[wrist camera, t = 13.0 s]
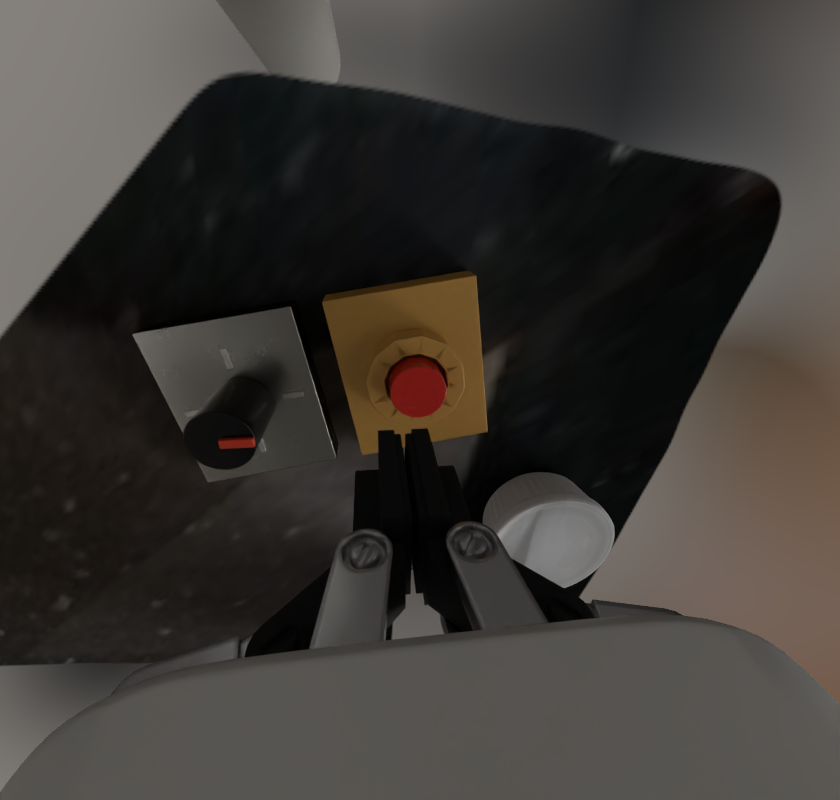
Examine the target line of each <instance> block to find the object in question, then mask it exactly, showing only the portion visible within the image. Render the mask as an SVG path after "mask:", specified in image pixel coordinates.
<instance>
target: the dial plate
mask: <svg viewBox="0 0 840 800" xmlns="http://www.w3.org/2000/svg"><path fill="white" fill-rule="evenodd" d="M132 335H133V337H134V339H135V341H136V343H137V345H138V347H139V349H140V351H141V353H142V355H143V357H144V359H145V361H146V362H147V364H148V366H149V368H150V370H151V372H152V374H153V376H154V378H155V380H156V382H157V384H158V386H159V388H160V390H161V392H162V394H163V396H164V398H165V400H166V402H167V404H168V405H169V407H170V409H171V411H172V413H173V415H174V417H175V419H176V421H177V423H178V425H179V427H180V429H181V431H182V433H183V432H184V429H185V426H186V425H187V423H188V422H189V421H190V420H191V418H192V417H193V416H194V415H195V414H196V413H197V411H198V410H199V409H200V408H201V407H202V406H203V404H204V403H205V402H206V401H207V400H208V399H209V397H210V396H211V395H212V394H213V393H214V392H215V390H216V389H217V388H218V387H219V386H220V385H221V384H222V383H223V382H225V381H227V380H230V379H233V378H248V379H252V380H254V381H257V382H259V383H260V384H262V385H263V386H264V387H265V388H266V389H267V390H268V391H269V392H270V393H271V395H272V397H273V400H274V405H275V409H274V413H273V416H272V418H271V420H270V422H269V424H268V426H267V429H266V431H265V433H264V435H263V437H262V439H261V441H260V443H259V445H258V447H257V450H256V452H255V454H254V456H253V457H252V458H251V460H250V461H249V462H247V463H246V464H245V465H243V466H241V467H238V468H235V469H229V470H221V469H214V468H211V467H208V466H205V465H203V464H201V463H200V462H198V461H197V462H198V464H199V466H200V468H201V470H202V472H203V474H204V476H205V478H206V480H207V482H208V483H209V482H215V481H220V480H225V479H231V478H236V477H241V476H247V475H252V474H257V473H263V472H268V471H273V470H279V469H284V468H289V467H295V466H300V465H305V464H311V463H316V462H321V461H327V460H332V459H336V458H337V451H338V442H337V438H336V435H335V431H334V428H333V425H332V421H331V418H330V414H329V411H328V408H327V404H326V401H325V397H324V394H323V390H322V387H321V384H320V380H319V377H318V373H317V370H316V367H315V363H314V360H313V356H312V353H311V350H310V346H309V343H308V339H307V336H306V333H305V329H304V326H303V322H302V319H301V315H300V312H299V309H298V305H297V302H296V300H293V301H287V302H281V303H275V304H269V305H264V306H258V307H252V308H246V309H240V310H234V311H229V312H223V313H217V314H211V315H205V316H199V317H194V318H188V319H182V320H176V321H170V322H164V323H158V324H153V325H148V326H146V327H144V328H142V329H140V330H138V331H136V332H134V333H133V334H132Z"/></svg>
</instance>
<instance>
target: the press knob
mask: <svg viewBox="0 0 840 800" xmlns="http://www.w3.org/2000/svg"><path fill="white" fill-rule="evenodd" d="M389 386H390V395H391V400H392V403H393V405H394V406H395V408H396V409H397V410H398V411H399V412H401V413H402V414H404V415H407V416H410V417H424V416H428V415H430V414H432V413H434V412H435V411H437V410H438V409H439V408H440V407H441V405H442V404H443V402H444V400H445V397H446V392H447V389H446V384H445V381H444V378H443V376H442V374H441V372H440V370H439V368H438V367H437V365H436V364H435V363H433V362H432V361H430V360H428V359H426V358H421V357H413V358H408V359H406V360H404V361H402V362H400V363H399V364H398V365H397V366H396V367H395V368H394V369H393V371H392V373H391V375H390V380H389Z"/></svg>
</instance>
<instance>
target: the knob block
mask: <svg viewBox="0 0 840 800" xmlns="http://www.w3.org/2000/svg"><path fill="white" fill-rule="evenodd" d="M322 304H323V308H324V312H325V316H326V320H327V323H328V327H329V331H330V335H331V339H332V342H333V346H334V350H335V354H336V358H337V361H338V365H339V369H340V373H341V377H342V380H343V384H344V388H345V392H346V396H347V400H348V403H349V407H350V411H351V415H352V419H353V422H354V426H355V430H356V434H357V438H358V441H359V445H360V449H361V453H362V455H366V454H371V453H377V452H378V430H394V434H401V440H402V447H405V434H408V433H411V429H425V428H427V429H428V431H429V434H430V438H431V442H435V441H441V440H446V439H451V438H457V437H462V436H467V435H473V434H478V433H483V432H487V431H488V430H487V416H486V403H485V389H484V376H483V362H482V349H481V335H480V321H479V308H478V294H477V281H476V275H474V274H473V273H471V272H470V271H462V272H457V273H451V274H445V275H439V276H433V277H427V278H422V279H416V280H410V281H404V282H398V283H392V284H386V285H381V286H375V287H369V288H363V289H357V290H351V291H346V292H340V293H334V294H328V295H325V297H324V299H323V301H322ZM413 357H421V358H426V359H428V360H430V361H432V362H433V363H435V364H436V365H437V367H438V368H439V370H440V372H441V374H442V376H443V378H444V381H445V384H446V389H447V392H446V397H445V400H444V402H443V404H442V405H441V407H440V408H439V409H438V410H437V411H435V412H434V413H432V414H430V415H428V416H424V417H410V416H407V415H404V414H402V413H401V412H399V411H398V410H397V409H396V408H395V406H394V405H393V403H392V400H391V395H390V386H389V380H390V375H391V373H392V371H393V369H394V368H395V367H396V366H397V365H398V364H399V363H400V362H402V361H404V360H406V359H408V358H413Z"/></svg>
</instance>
